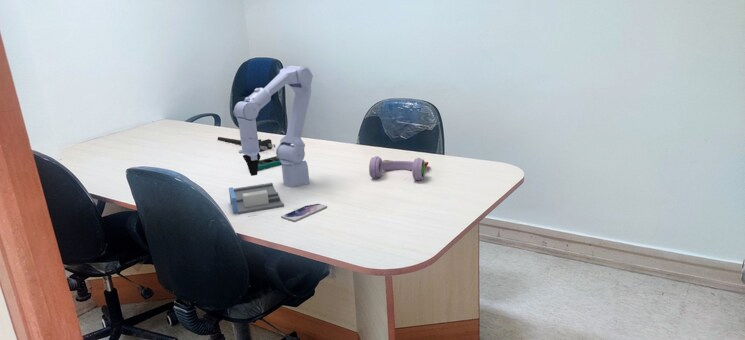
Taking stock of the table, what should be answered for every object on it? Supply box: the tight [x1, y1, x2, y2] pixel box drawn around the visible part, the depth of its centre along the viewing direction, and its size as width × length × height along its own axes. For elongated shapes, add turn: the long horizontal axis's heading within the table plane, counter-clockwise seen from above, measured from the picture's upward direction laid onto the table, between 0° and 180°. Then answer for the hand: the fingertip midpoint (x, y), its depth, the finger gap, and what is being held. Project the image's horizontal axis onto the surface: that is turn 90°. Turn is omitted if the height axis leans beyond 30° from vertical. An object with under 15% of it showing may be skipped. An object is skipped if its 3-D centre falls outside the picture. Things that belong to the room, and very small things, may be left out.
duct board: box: [228, 182, 285, 215], centre depth 190 cm, size 16×24×6 cm
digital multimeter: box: [258, 155, 282, 172], centre depth 229 cm, size 7×15×3 cm, turn 129°
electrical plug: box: [217, 136, 276, 153], centre depth 262 cm, size 9×42×5 cm, turn 49°
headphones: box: [368, 155, 429, 182], centre depth 211 cm, size 20×10×20 cm
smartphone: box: [280, 203, 328, 223], centre depth 179 cm, size 7×1×15 cm
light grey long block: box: [243, 190, 281, 208], centre depth 185 cm, size 12×3×4 cm, turn 109°
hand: (253, 174), depth 189 cm, fingers closed
